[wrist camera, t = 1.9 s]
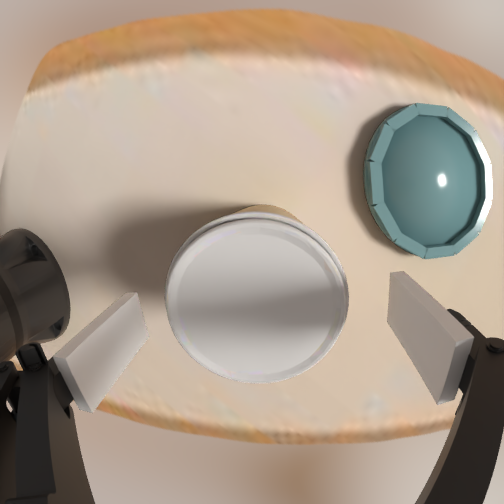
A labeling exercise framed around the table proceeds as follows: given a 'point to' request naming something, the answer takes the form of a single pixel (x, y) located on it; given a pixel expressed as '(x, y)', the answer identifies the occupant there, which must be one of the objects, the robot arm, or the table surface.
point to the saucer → (428, 180)
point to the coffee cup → (256, 296)
